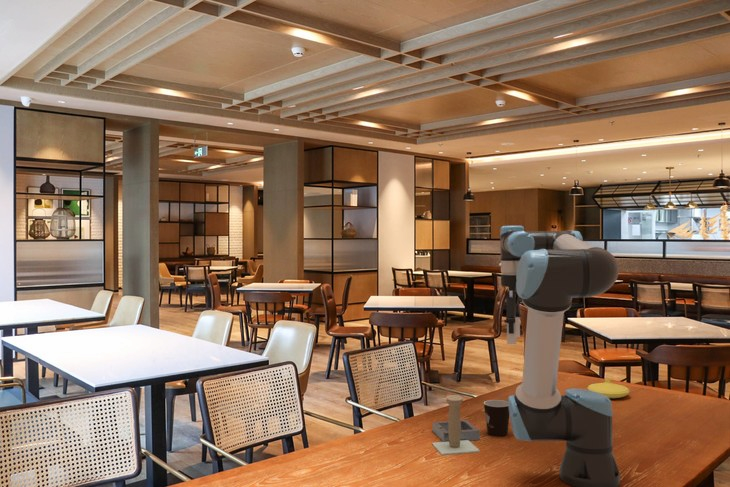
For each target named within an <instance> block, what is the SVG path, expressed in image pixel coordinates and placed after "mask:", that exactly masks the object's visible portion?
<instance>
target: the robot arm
mask: <svg viewBox="0 0 730 487" xmlns="http://www.w3.org/2000/svg"><path fill="white" fill-rule="evenodd" d="M499 232H500V235H499V239H500V263H499V264H498V266H499V267H500V273H502V274H501V275H500V285H501V287H506V288H507V287H508V290H507V291H506V293H505V295H506V314H505V315H506V318H505V319H504V321H503V322H504V324H506V344H507V345H517V338H521V321H520V320H521V317H523V314H522V313H521V309H520V298H521V299H522V301H521V302H522V304H523V305H524V306H525V307H526V308H527V316H526V327H525V331H526V332H525V342H524V343H525V344H524V353H523V354H524V356H523V367H522V368H523V370H522V381H521V382H522V383H521V384H519V385H518V386H517V387H516V389H515V395H514V394H512V395H509V396H508V397H507V402H508V407H509V421H510V425H511V429H512V433H513V435H514V437H515V439H517V440H518V441H526V442H534V441H535V442H538V441H539V442H541V441H542V442H560V441H562V442H564V441H565V450H564V454H563V457H562V461H561V463H560V466H559V478H560V480H561V481H562V482H564V483H565V484H567V485H569V486H572V487H619V486H620V485H621V473H620V471H619V467H618V465H617V461H616V459H615V455H614V453H613V449H614V448H613V417H614V414H613V406H612V401H611V398H608V397H607V396H605V395H603V394H601V393H597V392H594V391H590V390H588V389H584V388H574V387H573V388H568V389H567V388H566V390H565V392H564V394H563V395H562V394H561V392H560V390H559V389H558V388H557V383H558V374H559V373H558V372H559V363H560V355H561V354H560V352H561V345H562V344H561V342H562V333H563V326H564V325H563V322H564V315H565V314H564V313H565V312H566V311H569V309H570V308H571V307H572V304H573V303H572V302H573V299H574V298H575V299H577V298H580V299H582V298H592V297H597V296H599V295H602V294H604V293H606V292H607V291H608V290H610V289H611V288H612V287H613V286H614V284H615V283H616V282H617V280H618V276H619V271H620V267H619V266H620V265H619V264H618V260H617V259H616V257H615V256H614V255H613V254H612V253H611V252H610V251H608V250H606V249H604V248H602V247H599V246H592V245H589V244H588V243H586V242H584V240H583V236H582V234H581V232H580V231H578V230H568V229H567V230H551V231H549V230H547V231H546V230H540V231H539V230H538V231H537V230H535V231H534V230H531V231H530V230H529V231H528V230H527V231H525V227H524V226H523V225H503V226H501V227H500V231H499Z"/></svg>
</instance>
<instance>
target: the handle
mask: <svg viewBox="0 0 730 487" xmlns="http://www.w3.org/2000/svg"><path fill="white" fill-rule="evenodd" d="M446 404H448V408H449V409H448V421H449V423H448V433H449V441H450V442H449V445H450V446H452V447H458V446H460V439H461V420H462V419H461V404H463V397H462V396H461V395H457V394H448V395H447V396H446Z"/></svg>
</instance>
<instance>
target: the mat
mask: <svg viewBox="0 0 730 487" xmlns="http://www.w3.org/2000/svg"><path fill="white" fill-rule="evenodd" d="M431 445H432V446H433V447H434V449H436V451H437V452H438V453H440V455H441V456H444V455H445V456H446V455H460V454H470V453H480V452H481V450H480V449H479V448H478V447H477V446H475V444H473V443H472V442H471V441H469V440H462V441H460V446H458V447H452V446H450V445H449V442H443V441H440V442H439V441H438V442H432V443H431Z"/></svg>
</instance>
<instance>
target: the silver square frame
mask: <svg viewBox="0 0 730 487" xmlns="http://www.w3.org/2000/svg"><path fill="white" fill-rule="evenodd" d="M460 420H461V439H460V441H462V440H469V441H470V442H471V441H480V438H481V436H480V435H481V434H480V433H481V431H480V429H478V427H476V426H475V425H474V424H473V423H472V422H470V421H469V420H468V419H460ZM448 423H449V420H445V421H443V420H442V421H432V432H433V434H435V435H436V437H438V439H440V440H441V442H450V441H449V433H448Z"/></svg>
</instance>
